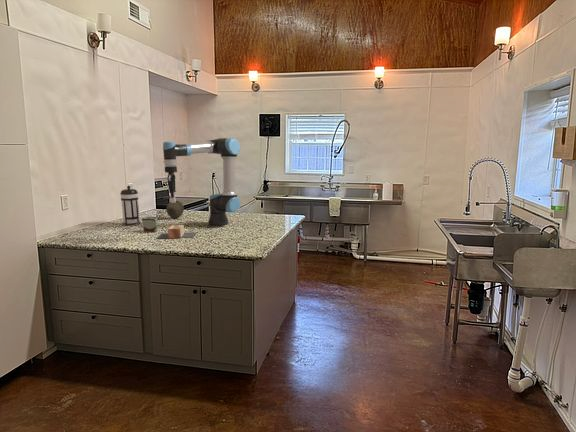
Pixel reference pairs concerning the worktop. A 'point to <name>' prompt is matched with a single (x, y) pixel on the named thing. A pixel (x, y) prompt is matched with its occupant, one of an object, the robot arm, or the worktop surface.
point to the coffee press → (130, 206)
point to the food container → (149, 224)
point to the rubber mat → (185, 235)
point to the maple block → (176, 231)
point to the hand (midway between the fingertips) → (173, 202)
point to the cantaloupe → (175, 209)
